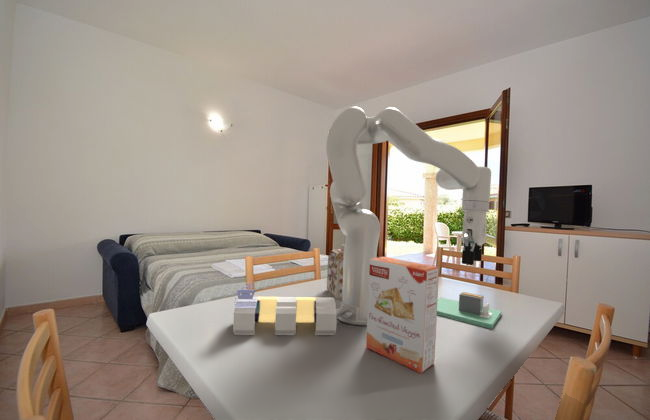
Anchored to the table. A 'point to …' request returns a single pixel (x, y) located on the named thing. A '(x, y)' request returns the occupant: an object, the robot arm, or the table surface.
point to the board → (452, 311)
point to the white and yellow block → (283, 313)
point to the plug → (471, 303)
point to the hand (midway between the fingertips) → (471, 262)
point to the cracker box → (403, 311)
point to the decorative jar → (335, 272)
